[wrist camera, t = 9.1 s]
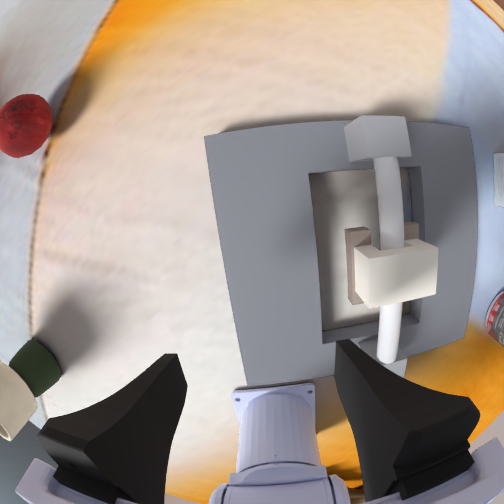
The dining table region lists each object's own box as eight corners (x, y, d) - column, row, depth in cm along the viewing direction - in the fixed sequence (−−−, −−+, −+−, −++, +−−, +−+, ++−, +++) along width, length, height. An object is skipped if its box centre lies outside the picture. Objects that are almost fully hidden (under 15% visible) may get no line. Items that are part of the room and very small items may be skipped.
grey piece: (454, 329, 22) (482, 355, 17) (248, 372, 24) (245, 415, 18) (456, 130, 18) (495, 122, 12) (209, 141, 19) (190, 125, 14)
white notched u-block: (410, 286, 18) (436, 307, 14) (348, 298, 19) (365, 324, 15) (410, 221, 17) (441, 230, 13) (344, 229, 17) (364, 241, 14)
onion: (63, 90, 18) (8, 71, 10) (73, 137, 19) (11, 127, 11) (27, 123, 18) (-27, 116, 11) (35, 168, 20) (-23, 170, 12)
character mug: (22, 312, 24) (-47, 361, 11) (62, 336, 24) (-8, 401, 11) (34, 374, 26) (-15, 425, 14) (70, 397, 26) (24, 459, 14)
